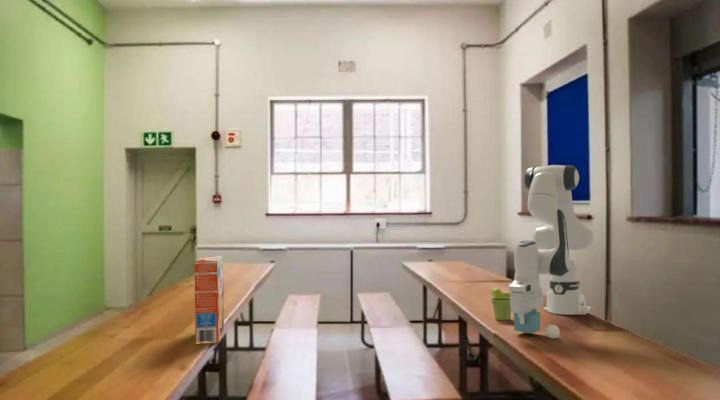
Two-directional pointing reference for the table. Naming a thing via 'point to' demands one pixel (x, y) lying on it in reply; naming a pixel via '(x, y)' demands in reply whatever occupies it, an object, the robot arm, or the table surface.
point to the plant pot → (501, 308)
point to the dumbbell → (499, 293)
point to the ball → (552, 331)
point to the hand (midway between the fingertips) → (528, 321)
